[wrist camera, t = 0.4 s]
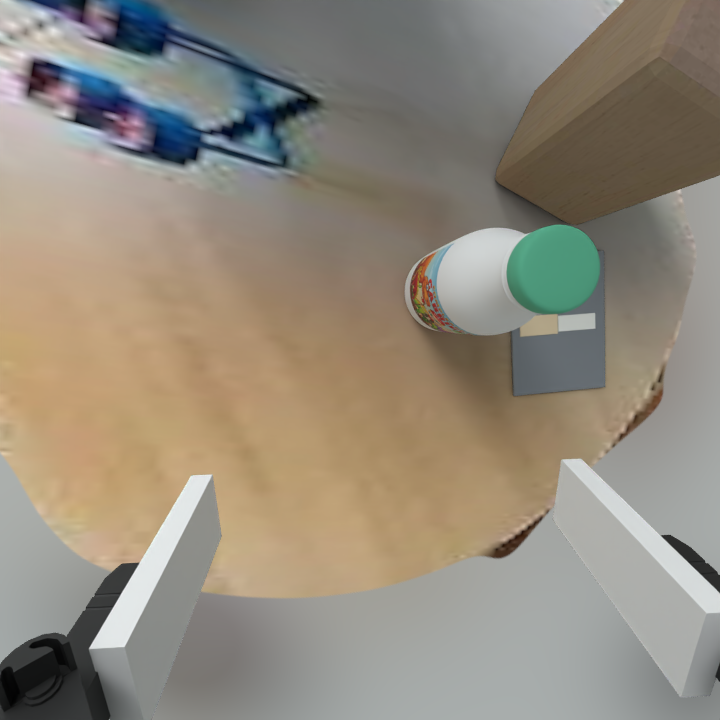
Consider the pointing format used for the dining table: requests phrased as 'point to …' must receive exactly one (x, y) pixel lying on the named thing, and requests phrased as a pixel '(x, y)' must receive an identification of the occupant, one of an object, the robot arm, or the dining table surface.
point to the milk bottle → (502, 279)
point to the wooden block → (623, 114)
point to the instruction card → (562, 348)
